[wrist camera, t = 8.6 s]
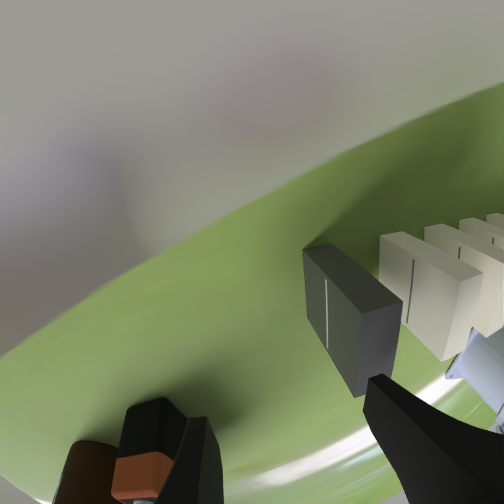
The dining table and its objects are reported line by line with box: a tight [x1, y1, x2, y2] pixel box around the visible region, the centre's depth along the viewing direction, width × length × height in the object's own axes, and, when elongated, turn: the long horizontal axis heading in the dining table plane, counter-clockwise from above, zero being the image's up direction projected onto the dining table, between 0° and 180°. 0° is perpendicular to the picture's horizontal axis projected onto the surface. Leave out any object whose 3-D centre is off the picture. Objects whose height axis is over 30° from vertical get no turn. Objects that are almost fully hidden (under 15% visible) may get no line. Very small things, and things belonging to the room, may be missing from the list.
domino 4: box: [424, 224, 504, 337], centre depth 16 cm, size 2×5×8 cm, turn 8°
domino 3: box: [459, 217, 504, 249], centre depth 16 cm, size 2×5×8 cm, turn 8°
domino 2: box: [379, 231, 484, 362], centre depth 16 cm, size 2×5×8 cm, turn 8°
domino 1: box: [302, 244, 403, 398], centre depth 15 cm, size 2×5×8 cm, turn 8°
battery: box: [111, 398, 187, 504], centre depth 17 cm, size 4×7×10 cm, turn 25°
